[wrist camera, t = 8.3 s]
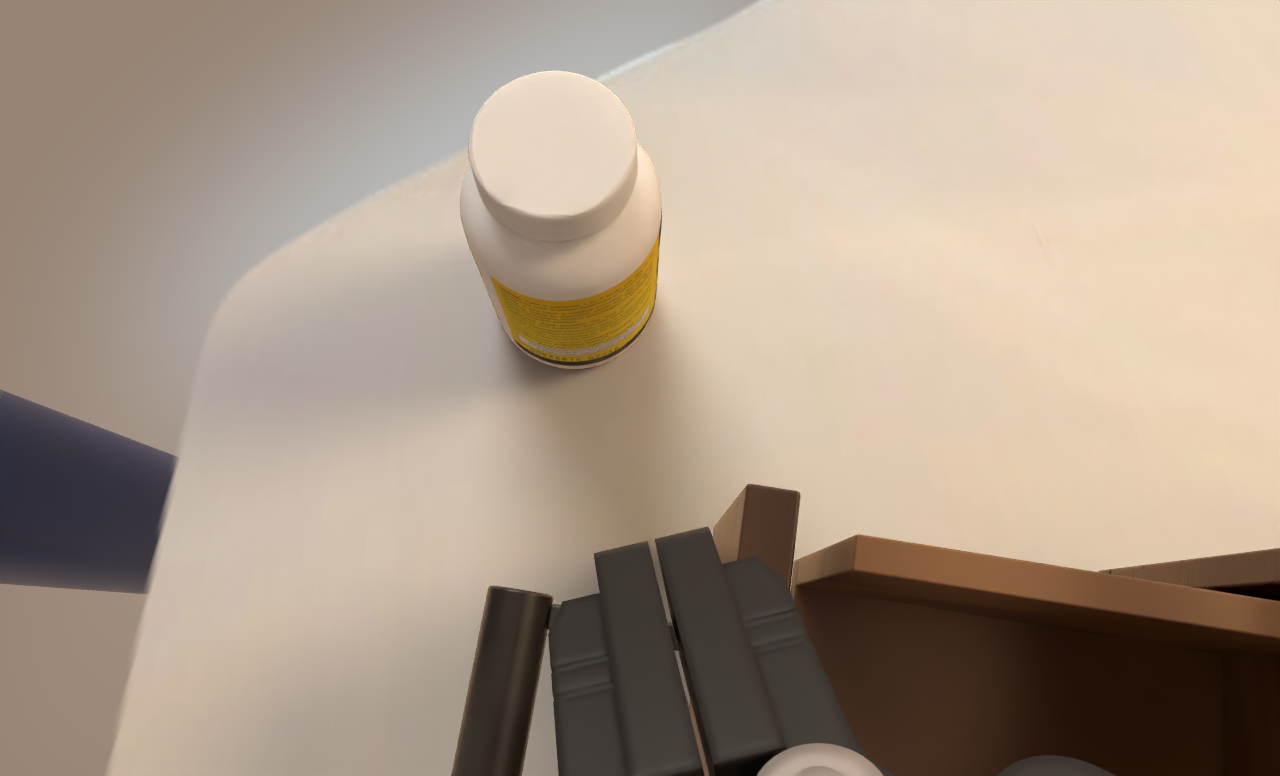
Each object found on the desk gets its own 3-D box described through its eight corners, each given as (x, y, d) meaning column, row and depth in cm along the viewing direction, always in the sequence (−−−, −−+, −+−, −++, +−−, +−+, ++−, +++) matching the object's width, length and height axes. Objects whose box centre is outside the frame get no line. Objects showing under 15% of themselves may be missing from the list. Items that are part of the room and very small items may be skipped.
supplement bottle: (687, 318, 30) (712, 176, 21) (550, 402, 29) (510, 294, 20) (601, 195, 31) (587, 7, 22) (466, 273, 31) (392, 113, 21)
